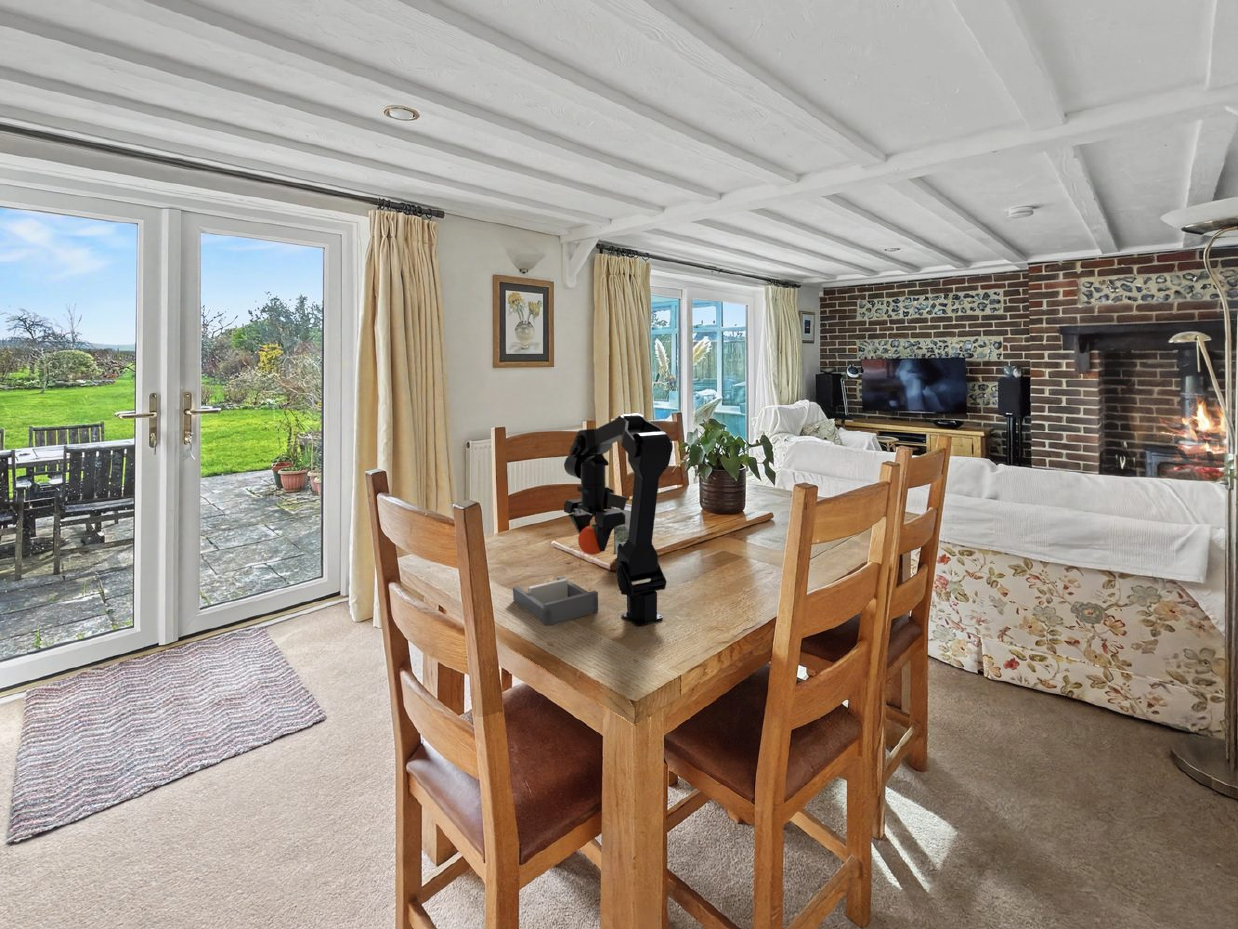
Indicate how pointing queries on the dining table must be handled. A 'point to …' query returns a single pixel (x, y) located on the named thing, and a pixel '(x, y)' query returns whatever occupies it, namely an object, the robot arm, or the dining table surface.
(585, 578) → the dining table surface
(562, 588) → the pusher paddle
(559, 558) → the dining table surface
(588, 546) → the clementine
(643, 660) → the dining table surface
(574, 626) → the dining table surface
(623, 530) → the syrup box
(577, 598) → the grey shallow tray
